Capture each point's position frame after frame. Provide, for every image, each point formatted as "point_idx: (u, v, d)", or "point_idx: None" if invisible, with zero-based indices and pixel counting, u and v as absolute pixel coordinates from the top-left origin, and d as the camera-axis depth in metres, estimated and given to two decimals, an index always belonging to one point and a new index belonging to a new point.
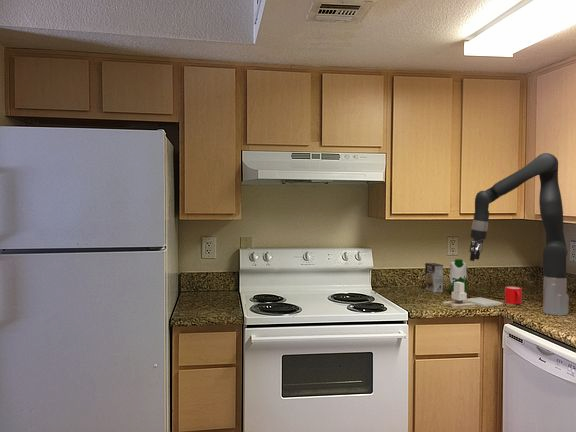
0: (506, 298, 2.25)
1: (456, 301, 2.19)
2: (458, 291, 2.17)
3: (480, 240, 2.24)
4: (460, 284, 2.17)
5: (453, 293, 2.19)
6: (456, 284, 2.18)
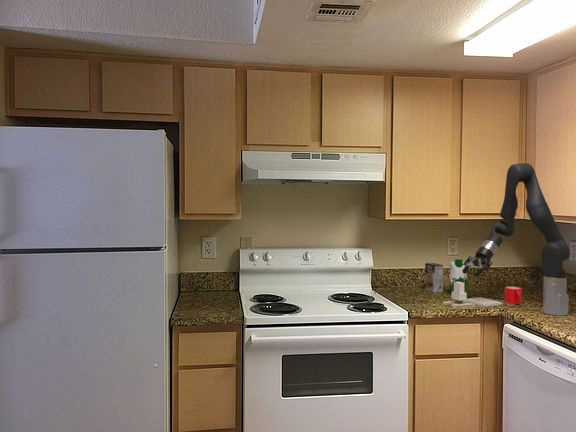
0: (506, 298, 2.25)
1: (456, 301, 2.19)
2: (458, 291, 2.17)
3: (481, 257, 2.23)
4: (460, 284, 2.17)
5: (453, 293, 2.19)
6: (456, 284, 2.18)
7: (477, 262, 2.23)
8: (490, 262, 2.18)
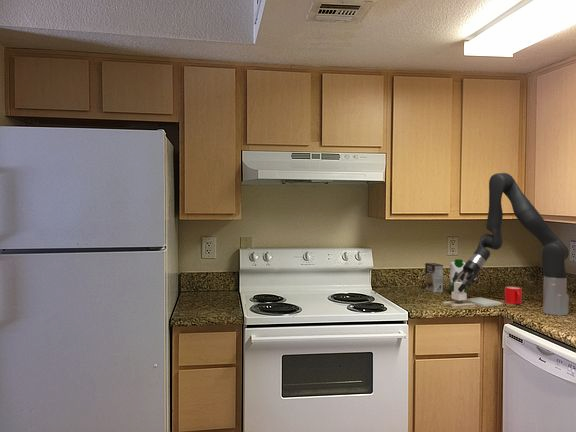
0: (506, 298, 2.25)
1: (456, 301, 2.19)
2: (458, 291, 2.17)
3: (469, 272, 2.19)
4: (460, 284, 2.17)
5: (453, 293, 2.19)
6: (456, 284, 2.18)
7: (464, 276, 2.20)
8: (474, 279, 2.14)
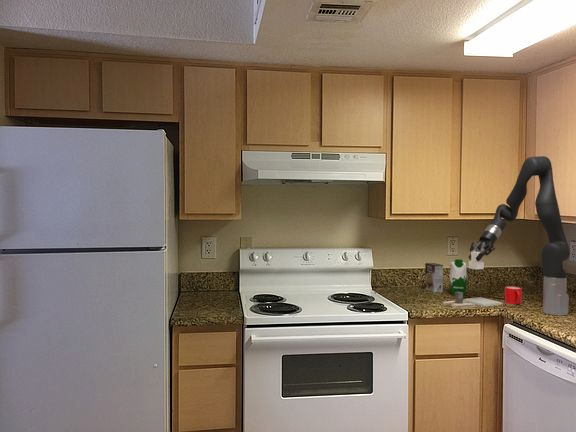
0: (506, 298, 2.25)
1: (456, 301, 2.19)
2: (475, 260, 2.21)
3: (486, 241, 2.23)
4: (477, 253, 2.20)
5: (470, 263, 2.23)
6: (473, 254, 2.22)
7: (481, 245, 2.24)
8: (492, 248, 2.18)
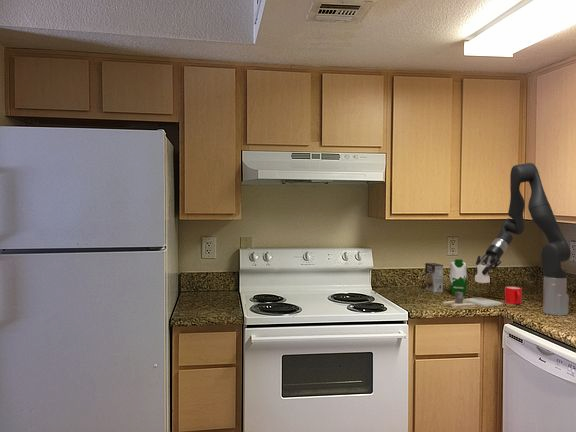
0: (506, 298, 2.25)
1: (456, 301, 2.19)
2: (482, 274, 2.23)
3: (492, 255, 2.25)
4: (484, 267, 2.23)
5: (476, 276, 2.25)
6: (480, 267, 2.24)
7: (487, 259, 2.26)
8: (498, 262, 2.20)
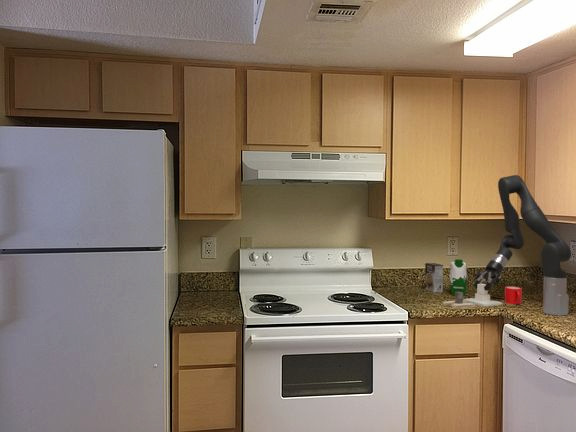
0: (506, 298, 2.25)
1: (456, 301, 2.19)
2: (482, 293, 2.24)
3: (492, 271, 2.26)
4: (484, 286, 2.23)
5: (476, 295, 2.26)
6: (480, 286, 2.25)
7: (487, 275, 2.26)
8: (499, 277, 2.20)
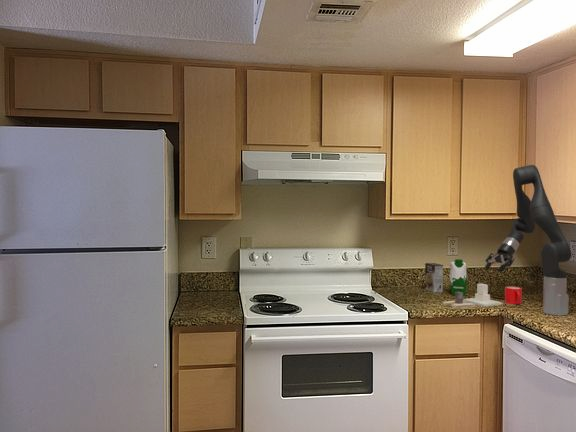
0: (506, 298, 2.25)
1: (456, 301, 2.19)
2: (482, 293, 2.24)
3: (504, 254, 2.28)
4: (484, 286, 2.23)
5: (476, 295, 2.26)
6: (480, 286, 2.25)
7: (499, 258, 2.28)
8: (512, 259, 2.23)
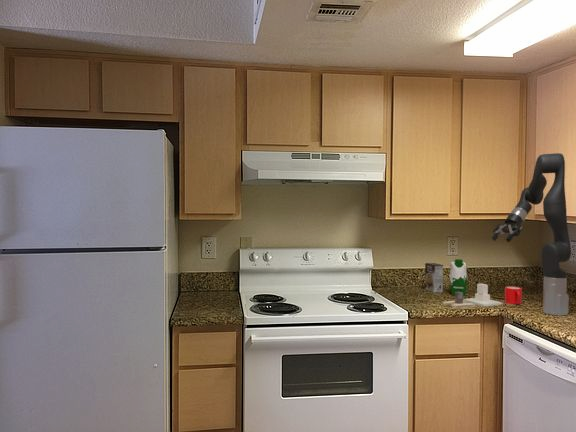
0: (506, 298, 2.25)
1: (456, 301, 2.19)
2: (482, 293, 2.24)
3: (511, 224, 2.25)
4: (484, 286, 2.23)
5: (476, 295, 2.26)
6: (480, 286, 2.25)
7: (507, 228, 2.25)
8: (520, 228, 2.20)
